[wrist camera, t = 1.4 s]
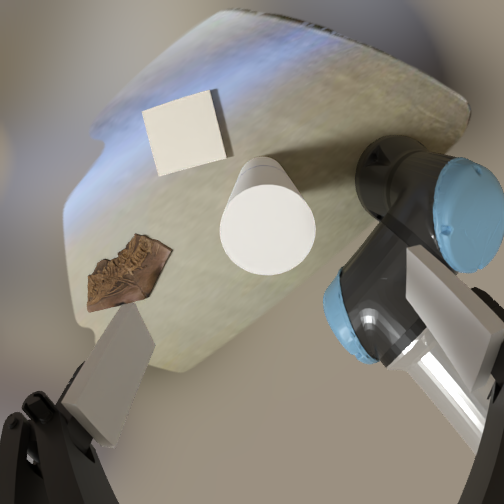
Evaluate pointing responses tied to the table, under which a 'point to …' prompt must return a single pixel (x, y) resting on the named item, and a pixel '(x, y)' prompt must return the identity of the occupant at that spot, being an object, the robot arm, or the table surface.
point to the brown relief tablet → (127, 274)
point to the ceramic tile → (184, 133)
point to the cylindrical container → (266, 220)
